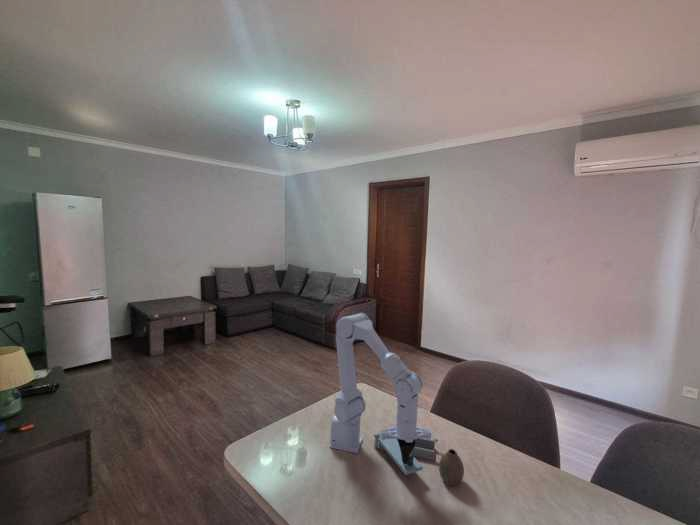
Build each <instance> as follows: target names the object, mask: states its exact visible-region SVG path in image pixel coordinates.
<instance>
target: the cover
mask: <svg viewBox="0 0 700 525" xmlns="http://www.w3.org/2000/svg"><path fill="white" fill-rule="evenodd" d="M373 436H374V439H375V438H376V439H377V441H378V444H379V443H380V444H381V446H382V447H383V448H384V449H385V450H384V449H383V450H384V451H386V453H387V454H388V455H389V457H390V458H391V459H392V460H393V461H394V463H395V464H396V465H397V466H398V468H399V469H400V470H401V472H402V473H403V474H404V475H405V476H408V475H410V474H413V473H417V472H419V471H423V465H422V464H421V463H420V462H419V460H417V459H416V457H415V456H413V454H411V453H410V455H409V457H408V460H407V463H406V464H403V462H402V456H401V450H400V446H399V443H398V441H397V439H385V440H381V437H380V432H374V433H373Z"/></svg>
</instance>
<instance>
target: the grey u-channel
mask: <svg viewBox="0 0 700 525" xmlns="http://www.w3.org/2000/svg"><path fill="white" fill-rule="evenodd" d="M414 440H415V443H416V444H415V447H414V448H413V450H412V451H411V454H413V456H414V457H415V458H416V457H417V458H423V459H426V460H431V461H435V456H436V451H435V450H436V449H435V446H436V443H438V441H439V440H438V437H434V440H433V439H427V438H418V439H414ZM374 449H380V450H384V451H386V450H385V449H384V448H383V447H382V446H381V444H380V443H379V442H378V441H377V439H376V438H375V437H374Z"/></svg>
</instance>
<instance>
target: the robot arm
mask: <svg viewBox="0 0 700 525" xmlns="http://www.w3.org/2000/svg"><path fill="white" fill-rule="evenodd" d="M335 325H336V326H335V328H336V335H335V342H336V343H335V344H336V352H337V365H338V375H339V376H338V377H339V386H340V390H339V392H338V393H337V395H336V397H335V399H334V400H335V402H334V403H335V405H334V407H333V410H334V415H333V418H332V421H331V425H330V440H329V441H330V443H329V448H331V449H336V450H341V451H346V452H349V453H352V454H353V453H354V454H357V453H358V451H359V449H360V447H361V444H362V441H363V437H362V436H360V434H361V432H360V431H361V417H362V414H363V413H364V412H365V411H366V402H365V400H364V396H363V392H362V391H361V390H360V389H359V388H358V384H357V375H356V367H355V365H356V364H355V355H354V343H353V342H354V341H355V340H362V341H364V342H365V343H366V345H368V347H369V348H370V349H371V350H372V351H373V352H374V354H375V355H376V356H377V357H378V358H379V359H380V368H382V369H383V371H384V372H385V373H386V375H387V377H388V378H389V379H390V380H391V382H392V383H393V384H394V386H393V389H394V392H395V393H394V394H396V401H397V406H396V421H395V422H396V424H395V426H394V427H389V428H387V429H386V428H385V429H380V432H379V433H380V437H381V440H385V439H397V441H398V443H399V446H400V450H401V456H402V462H403V464H406V463H407V460H408V457H409V455H410V453H411V451H412V450H413V448H414V447H415V444H416V443H415V440H414V439H418V438H425V439H430V440H432V432H431V430H430V429H429V428H421V427H417V422H418V409H419V408H418V406H419V405H418V404H419V393H420V392H421V391H422V389H423V381H422V379H421V378H420V376H419V374H417V373H415V372H412V371H411V370H410V369H408V368H407V366H406V365H405V363H403V361H402V360H401V357H400V356H399V355H398V354H397V353H396V352H395V353H394V352H390V351H389V349H388V348H387V347H386V345H385V344H384V342H383V341H382V339H381V338H380V336H379V335H378V334H377V332H376V330H375V329H374V327H373V321H372V320H371V319H369V316H368V315H367V314H366V313H364V312H359V313H357V314H352V315H348V316H343V317H340V318H339V319H338V320H337V322H336V323H335Z"/></svg>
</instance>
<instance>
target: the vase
mask: <svg viewBox="0 0 700 525" xmlns="http://www.w3.org/2000/svg"><path fill="white" fill-rule="evenodd" d="M438 471H439V475H440V478H441V479H442V481H444V482H445V483H446V484H447V485H449V486H453V487H454V486H458V485H460V483H461V482H462V481H463V478H464V473H465V468H464V463H463V461H462V460H461V458H460V456H459V455H458V452H457V451H456V450H455V449H452V448H451V449H448V450H447V452H446V453H444V454H443V455H441V458H440V459H439V464H438Z"/></svg>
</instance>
